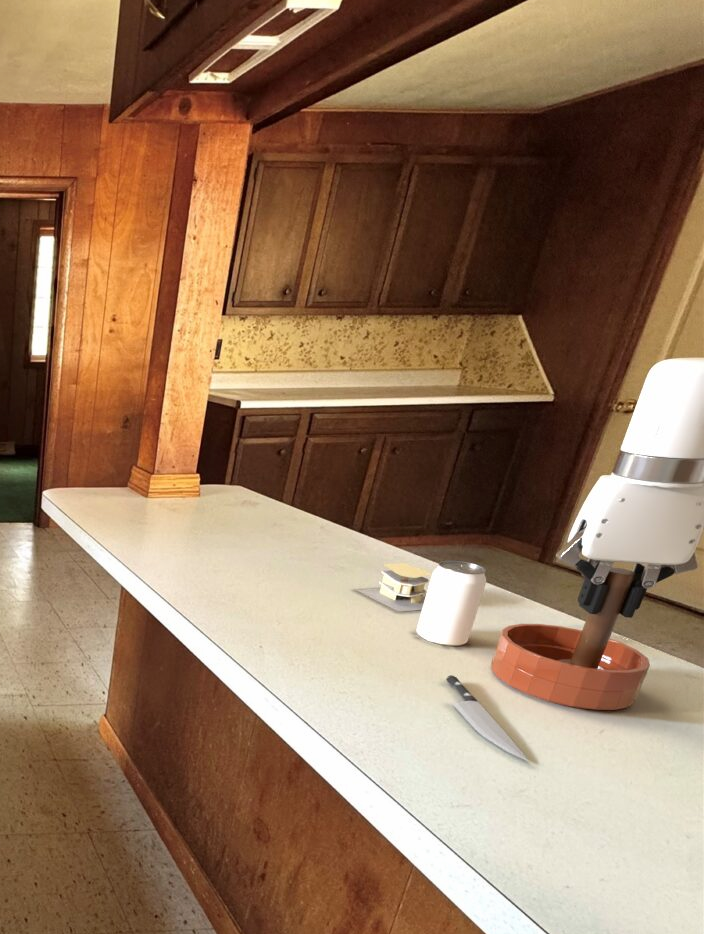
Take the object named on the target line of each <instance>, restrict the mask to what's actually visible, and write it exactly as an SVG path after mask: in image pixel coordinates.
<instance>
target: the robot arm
mask: <svg viewBox="0 0 704 934" xmlns="http://www.w3.org/2000/svg"><path fill="white" fill-rule="evenodd" d="M703 531H704V357H676V358H675V357H674V358H668V359H664V360H661V361H659V362H657V363H655V364H654V365H653V366H652V367H651V368H650V370H649V371H648V373H647V375H646V378H645V380H644V383H643V385H642V389H641V391H640V394H639V397H638V400H637V403H636V405H635V408H634V411H633V414H632V416H631V419H630V421H629V425H628V427H627V430H626V433H625V436H624V438H623V441H622V444H621V446H620V449H619V452H618V455H617V458H616V460H615V463H614V466H613V468H612V472H611V473H610V474H604V475H601V476H600V477H599V479H598V480H597V481H596V483H595V484H594V486H593V487H592V489H591V490H590V492H589V493H588V495H587V497H586V499H585V501H584V502H583V504H582V506H581V508H580V510H579V512H578V515H577V516H576V518H575V521H574V523H573V525H572V528H571V530H570V532H569V535H568V538H567V542H566V544H565V545H564V546H563V547H561V548H560V550H558V551H557V553H556V554H555V556H556V558H557V559H558V560H560V561H562V562H564V563H566V564H567V565H570V566H572V567H574V568H575V569H576V570H577V571H578V572H579V573H580V574H581V576H582V577H583V578H584V580H583V583H582V585H581V588H580V591H579V593H578V596H577V603H578V606H579V607H580V608H581V609H583V610H584V611H585V612H587V613H588V614H597V613H599V610H600V608H601V605H602V603H603V600H604V597H605V595H606V592H607V590H608V586H607V585H605V584H604V582H605V579H606V577H607V575H608V573H609V571H610V569H611V568H613V565H614V563H615V562H617V563H628V564H629V563H630V564H633V565H632V568H631V571H633V572H635V576H634V578H633V581H632V583H631V586H630V588H629V591H628V593H627V596H626V598H625V601H624V603H623V606H622V608H621V611H620V613H619V615H621V616H623V618H628V619H629V618H633V617H634V615H635V612H636V611H637V610H639V609H640V607H641V605H642V602H643V601H644V597H645V595H646V593H647V590H649V589H652V588H654V587H656V584H657V583H659V582H661V581H664V580H666V579H668V578H670V577H671V576H673V575H680V574H684V573H688V572H691V571H695V570H697V569H698V567H699V564H698V561H697V556H696V554H695V552H696V549H697V547H698V544H699V542H700V539H701V537H702V534H703ZM580 553H581V554H582V555H583V556H584V557H585V558H587V559H585V558H583V557H582V556H579V554H580Z"/></svg>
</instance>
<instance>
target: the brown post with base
mask: <svg viewBox="0 0 704 934" xmlns="http://www.w3.org/2000/svg"><path fill="white" fill-rule="evenodd" d="M634 576H635V572H633V571H632V570H630V569H625V568H621V567H611V569H610V571H609V573H608V575H607V577H606V579H605V582H604V584H605V585H607V586H608V590H607V592H606V595H605V597H604V600H603V603H602V605H601V608H600V610H599V613H597V614H589V613H588V614H587V617H586V619H585V622H584V625H583V627H582V629H581V630H582V632H581V635H580V637H579V640H578V643H577V645H576V648H575V651H574V653H573V656H572V658H571V659H561V660H558V661H559V662H563V663H567V664H572V665H577V666H582V667H586V668H594V669H603V668H601V667H599V664H600V661H601V659H602V656H603V654H604V651H605V649H606V646H607V643H608V641H609V638H610V639H611V636H612V633H613V630H614V628H615V626H616V623H617V621H618V618H619V616H620V611H621V608H622V606H623V603H624V601H625V598H626V596H627V593H628V591H629V588H630V586H631V583H632V581H633V578H634ZM603 670H605V669H603Z"/></svg>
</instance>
